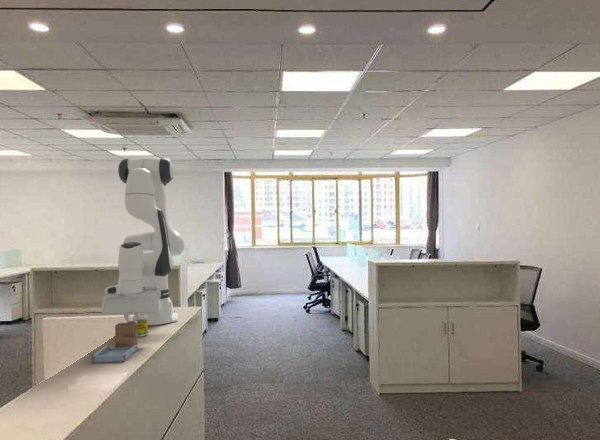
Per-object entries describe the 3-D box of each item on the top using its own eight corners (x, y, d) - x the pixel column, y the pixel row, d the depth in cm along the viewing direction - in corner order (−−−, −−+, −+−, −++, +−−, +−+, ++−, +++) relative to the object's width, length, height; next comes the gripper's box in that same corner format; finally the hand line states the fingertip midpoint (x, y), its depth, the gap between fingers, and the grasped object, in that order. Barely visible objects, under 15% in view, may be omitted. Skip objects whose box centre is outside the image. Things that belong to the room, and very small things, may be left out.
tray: (107, 350, 152) (107, 344, 152) (137, 349, 153) (137, 343, 153) (91, 363, 139) (91, 356, 139) (125, 361, 139) (124, 355, 139)
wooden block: (119, 345, 158) (119, 322, 158) (136, 345, 159) (136, 322, 159) (115, 349, 154) (115, 325, 154) (133, 348, 155) (133, 324, 155)
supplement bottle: (145, 332, 177) (145, 308, 177) (149, 335, 173) (149, 310, 173) (131, 334, 174) (131, 309, 174) (134, 337, 170) (134, 311, 170)
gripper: (162, 285, 168) (163, 323, 167) (106, 287, 166) (106, 324, 166) (158, 287, 161) (159, 326, 161) (99, 289, 160) (100, 328, 160)
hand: (132, 325), depth 164 cm, fingers closed
